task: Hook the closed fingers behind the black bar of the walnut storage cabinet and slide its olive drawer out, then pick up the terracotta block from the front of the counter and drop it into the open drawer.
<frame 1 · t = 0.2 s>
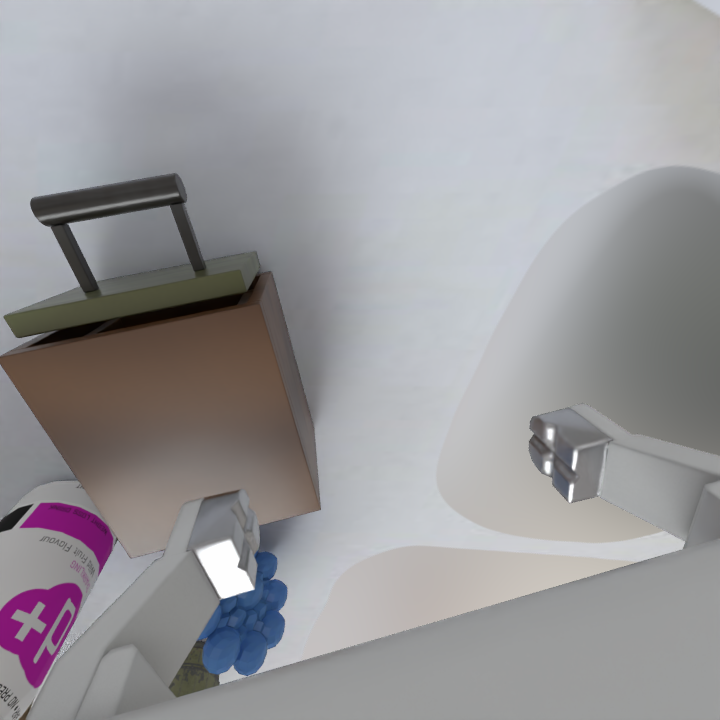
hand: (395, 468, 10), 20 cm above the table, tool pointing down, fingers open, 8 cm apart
grapes: (241, 541, 37), on the table
drawer: (180, 343, 23), point 5 cm above the table, slide at 0.5 cm
thermos: (186, 660, 43), on the table
supplement can: (79, 508, 32), on the table
cabinet: (219, 374, 29), on the table
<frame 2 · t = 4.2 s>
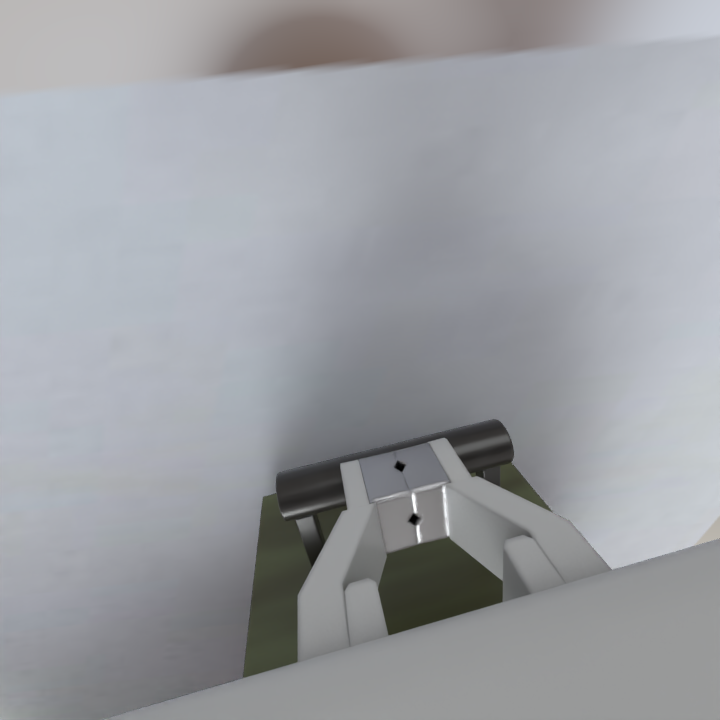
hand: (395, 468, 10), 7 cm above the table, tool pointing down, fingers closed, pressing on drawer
drawer: (413, 602, 15), point 5 cm above the table, slide at 1.7 cm, touching gripper
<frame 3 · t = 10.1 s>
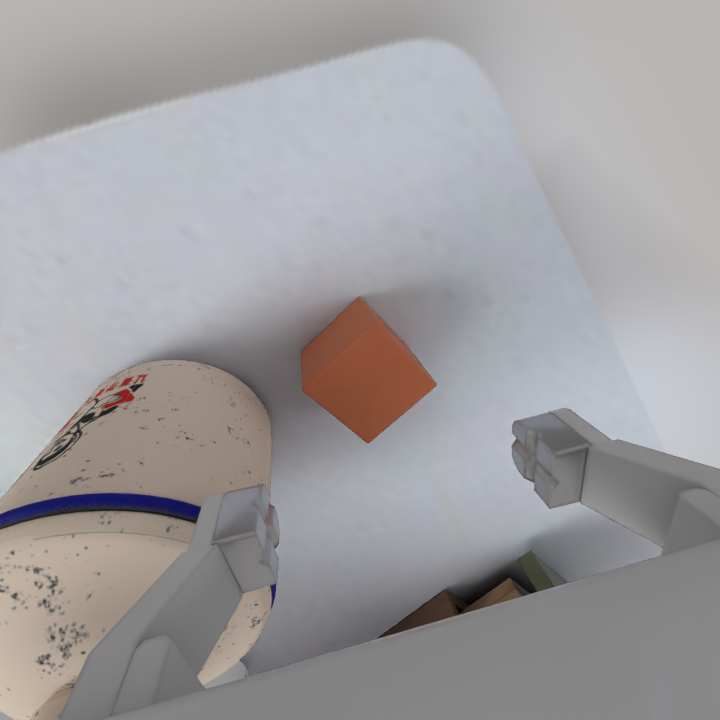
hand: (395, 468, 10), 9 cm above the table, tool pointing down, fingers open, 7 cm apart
teacup with lid: (173, 450, 19), on the table, touching gripper
block: (356, 350, 18), on the table
drawer: (551, 666, 25), point 5 cm above the table, slide at 5.9 cm
supplement can: (192, 667, 26), on the table
cabinet: (421, 661, 31), on the table
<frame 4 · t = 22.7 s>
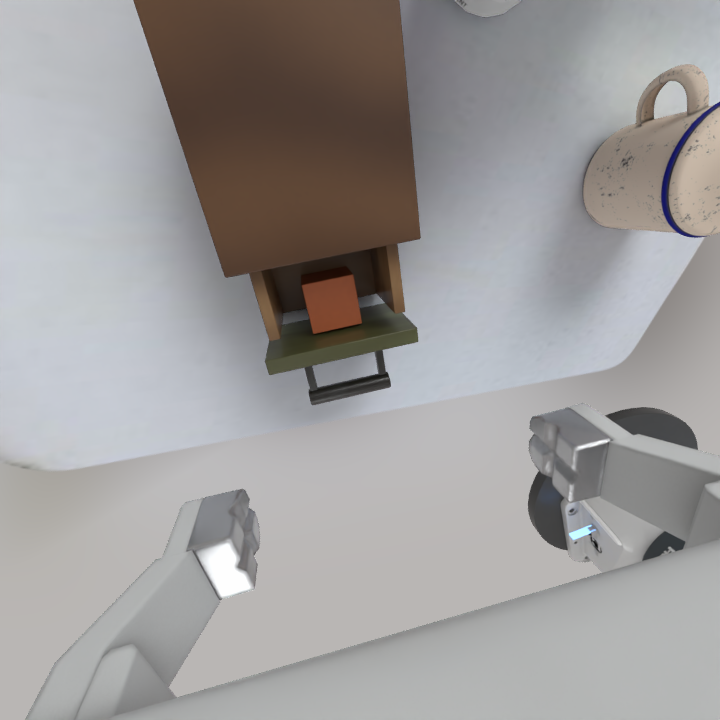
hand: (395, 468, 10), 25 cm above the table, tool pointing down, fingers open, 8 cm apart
teacup with lid: (619, 163, 33), on the table
block: (328, 293, 31), point 2 cm above the table, touching drawer
drawer: (329, 290, 28), point 5 cm above the table, slide at 6.3 cm, touching block
cabinet: (296, 147, 28), on the table
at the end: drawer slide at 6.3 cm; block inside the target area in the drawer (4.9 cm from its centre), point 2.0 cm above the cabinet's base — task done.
